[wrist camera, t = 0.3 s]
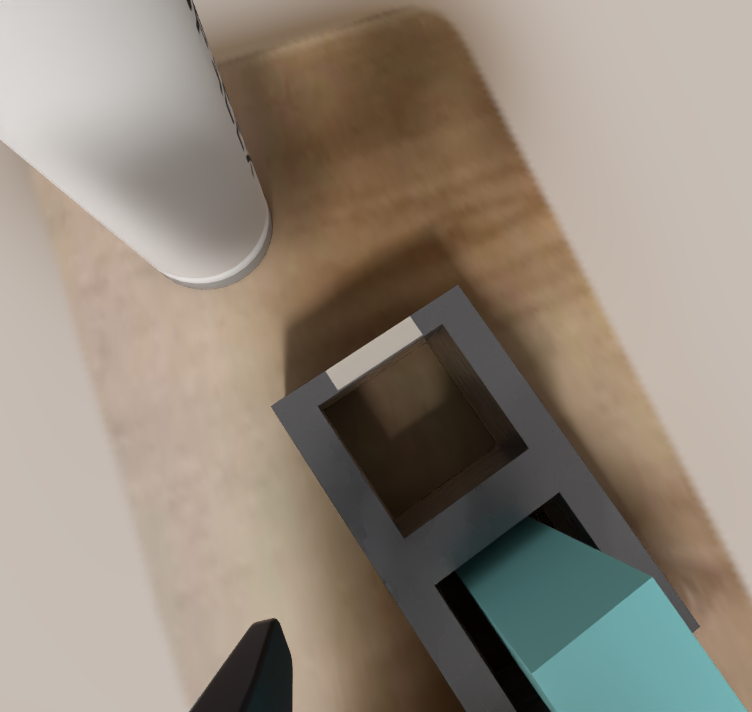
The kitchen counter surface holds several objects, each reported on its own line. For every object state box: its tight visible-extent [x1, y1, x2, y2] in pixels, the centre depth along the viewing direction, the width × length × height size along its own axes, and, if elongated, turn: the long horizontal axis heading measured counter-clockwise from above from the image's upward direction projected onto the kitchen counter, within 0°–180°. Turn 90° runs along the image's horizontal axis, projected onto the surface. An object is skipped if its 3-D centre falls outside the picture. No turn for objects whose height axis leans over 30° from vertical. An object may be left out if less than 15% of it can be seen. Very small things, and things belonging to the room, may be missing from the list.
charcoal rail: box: [271, 285, 700, 712], centre depth 20 cm, size 16×9×4 cm, turn 34°
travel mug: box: [0, 0, 272, 289], centre depth 14 cm, size 6×7×20 cm
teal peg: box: [454, 516, 747, 712], centre depth 17 cm, size 4×4×10 cm
